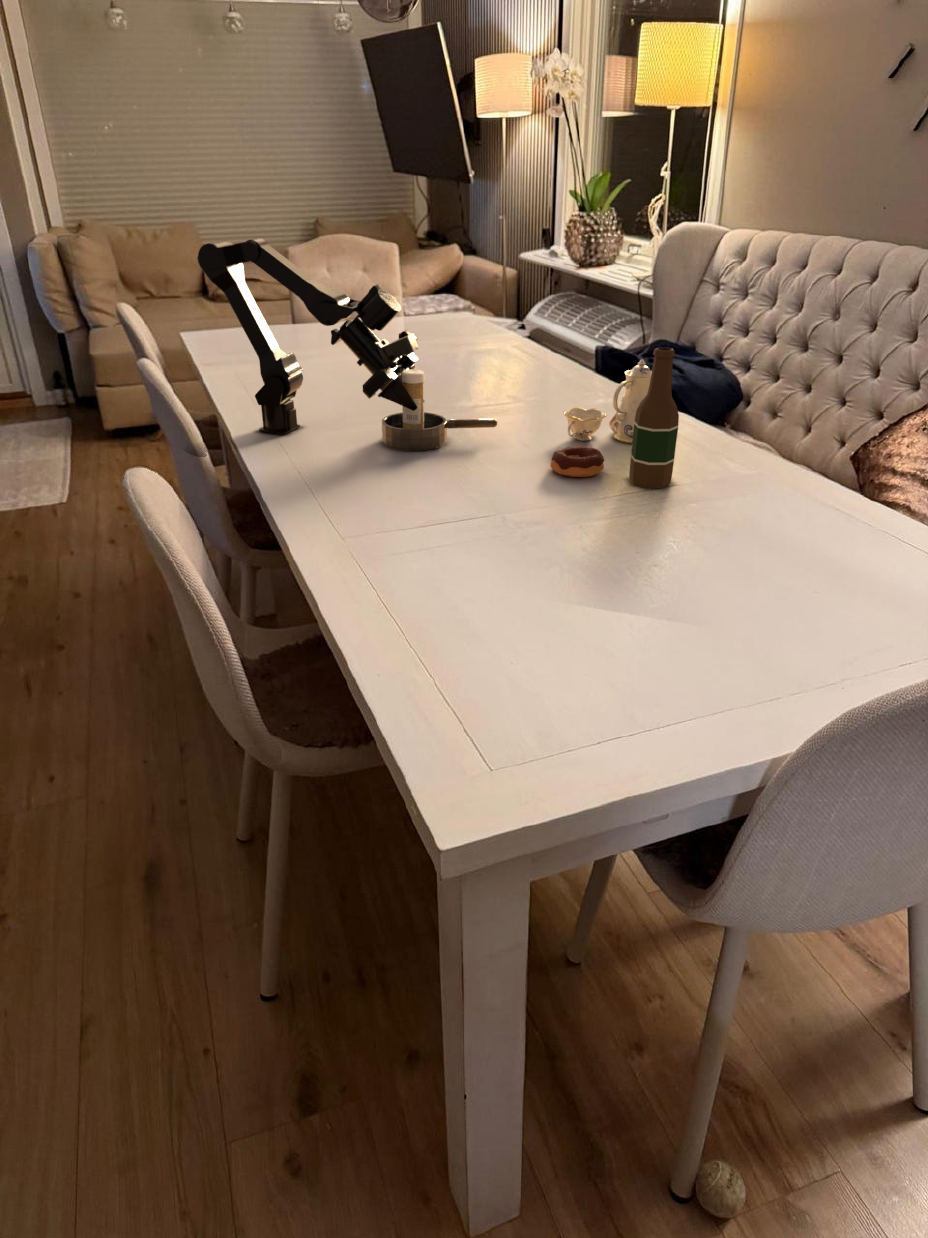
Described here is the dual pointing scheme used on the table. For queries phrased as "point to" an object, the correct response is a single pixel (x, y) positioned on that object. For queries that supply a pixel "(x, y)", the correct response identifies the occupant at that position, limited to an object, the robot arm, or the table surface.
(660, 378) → the beer bottle
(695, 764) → the table surface
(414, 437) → the pan
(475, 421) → the pan handle
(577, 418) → the chinaware
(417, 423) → the sprinkles bottle
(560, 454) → the donut
